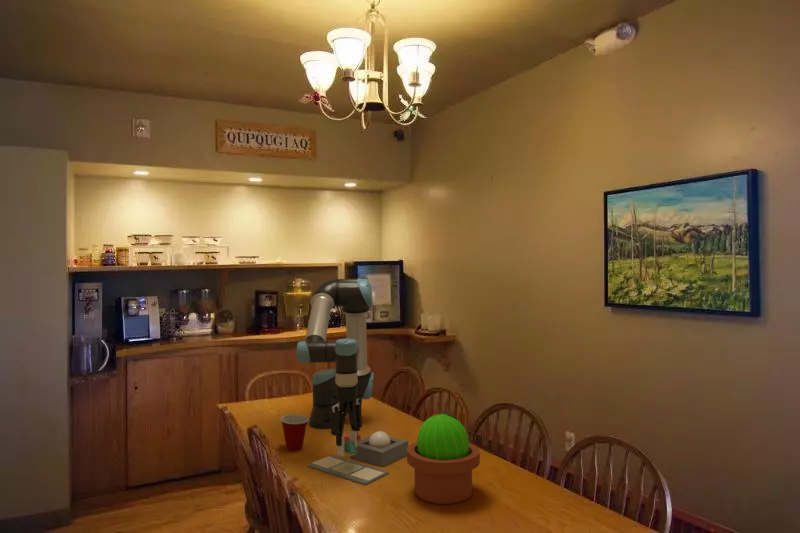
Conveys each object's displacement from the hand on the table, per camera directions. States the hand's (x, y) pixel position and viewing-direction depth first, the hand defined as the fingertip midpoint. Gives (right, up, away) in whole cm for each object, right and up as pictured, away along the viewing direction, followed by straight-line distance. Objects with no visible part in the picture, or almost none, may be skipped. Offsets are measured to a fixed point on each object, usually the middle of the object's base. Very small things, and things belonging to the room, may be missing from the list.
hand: (347, 451), depth 194 cm
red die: (0, -6, +22) cm, 23 cm away
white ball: (+11, -5, +13) cm, 18 cm away
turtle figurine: (+1, -1, -1) cm, 2 cm away
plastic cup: (-22, -6, +22) cm, 32 cm away
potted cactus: (+32, -7, -19) cm, 37 cm away
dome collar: (+11, -6, +14) cm, 18 cm away
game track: (0, -6, 0) cm, 6 cm away
